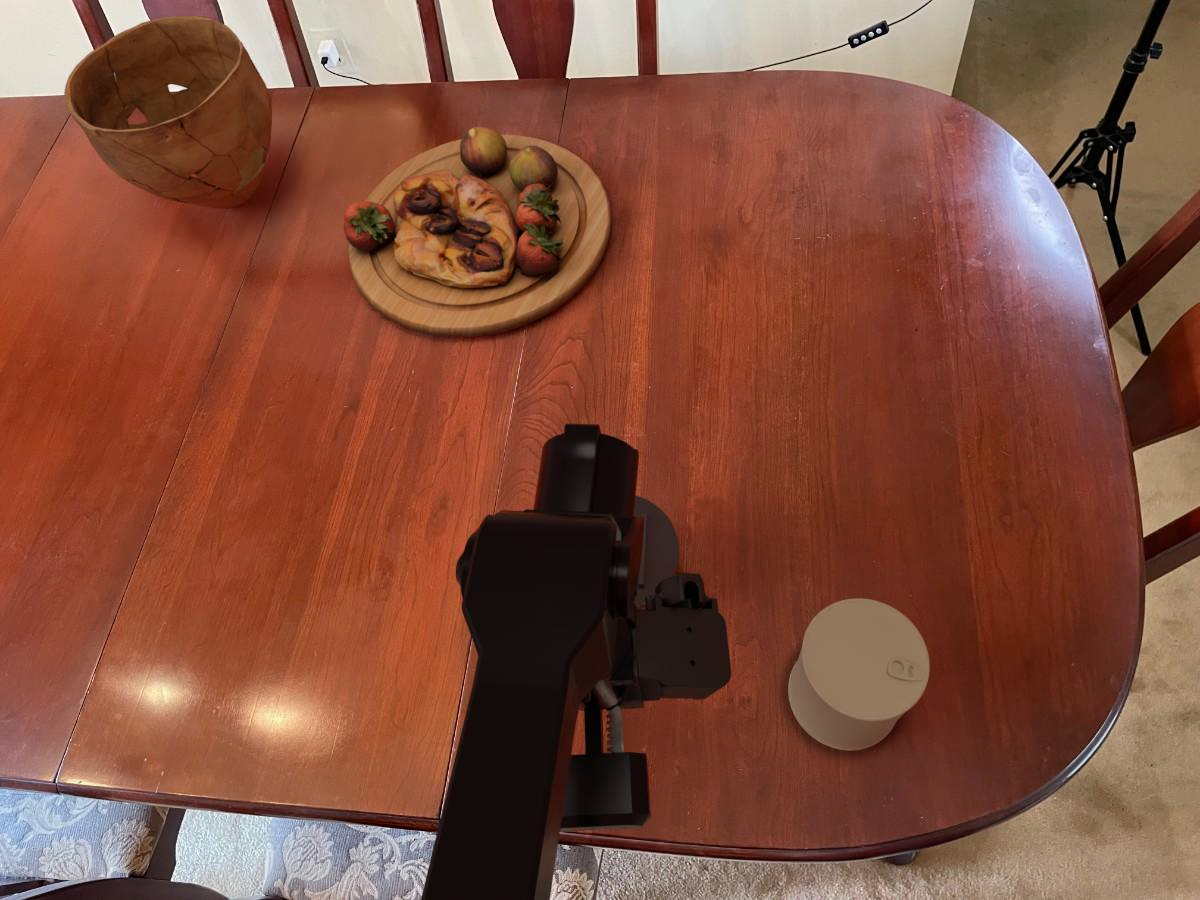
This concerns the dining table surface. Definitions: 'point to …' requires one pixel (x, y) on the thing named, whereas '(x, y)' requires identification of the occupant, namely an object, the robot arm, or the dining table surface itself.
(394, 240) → the wooden plate
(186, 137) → the bowl
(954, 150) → the dining table surface
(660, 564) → the round container with rails
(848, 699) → the can
